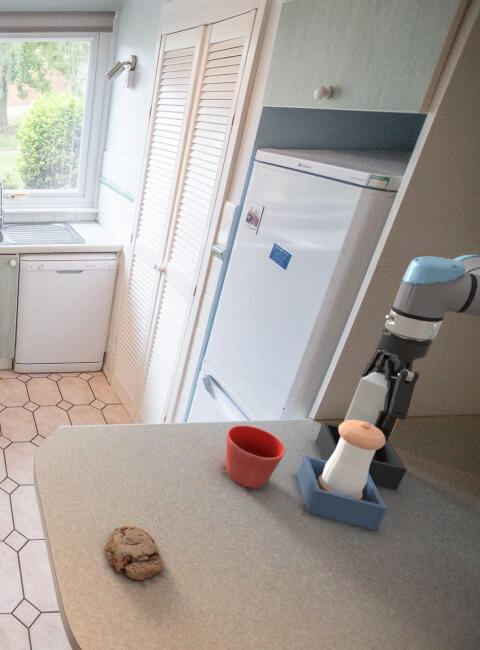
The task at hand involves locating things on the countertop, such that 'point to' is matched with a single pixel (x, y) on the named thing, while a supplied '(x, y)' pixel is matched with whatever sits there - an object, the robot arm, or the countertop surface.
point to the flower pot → (252, 455)
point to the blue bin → (339, 498)
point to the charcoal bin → (384, 463)
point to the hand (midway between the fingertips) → (369, 424)
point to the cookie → (134, 553)
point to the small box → (369, 399)
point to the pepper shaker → (351, 459)
